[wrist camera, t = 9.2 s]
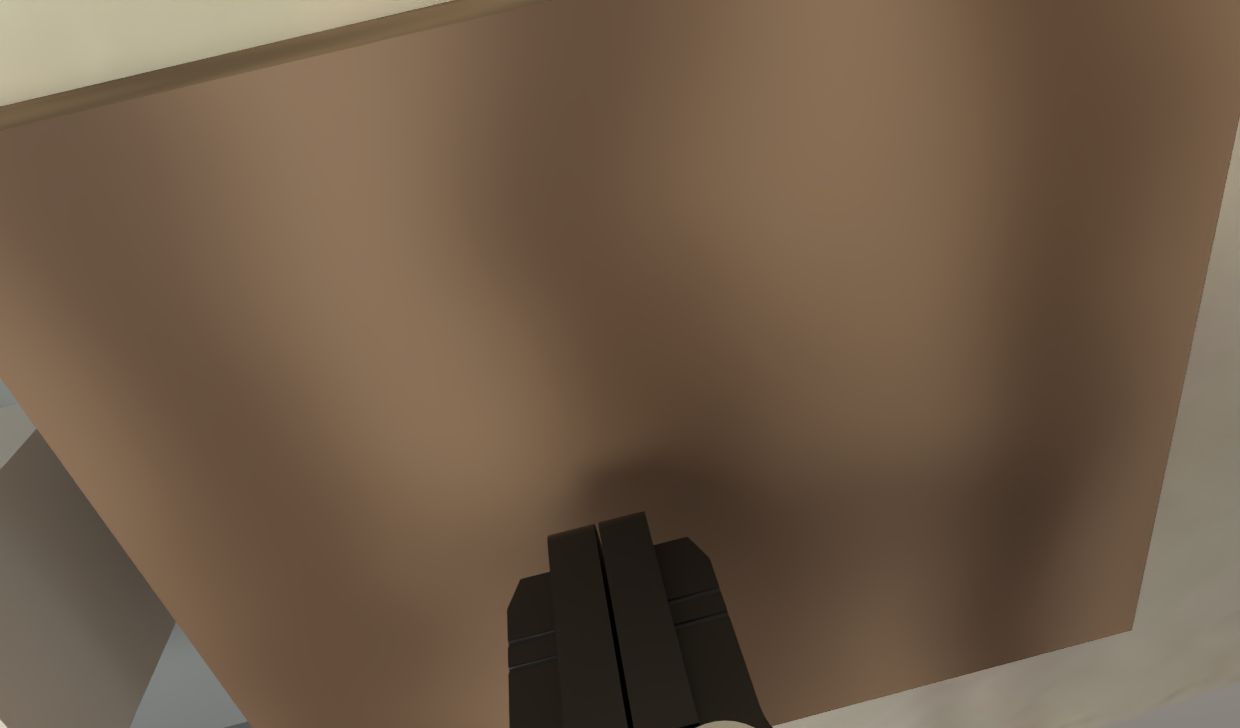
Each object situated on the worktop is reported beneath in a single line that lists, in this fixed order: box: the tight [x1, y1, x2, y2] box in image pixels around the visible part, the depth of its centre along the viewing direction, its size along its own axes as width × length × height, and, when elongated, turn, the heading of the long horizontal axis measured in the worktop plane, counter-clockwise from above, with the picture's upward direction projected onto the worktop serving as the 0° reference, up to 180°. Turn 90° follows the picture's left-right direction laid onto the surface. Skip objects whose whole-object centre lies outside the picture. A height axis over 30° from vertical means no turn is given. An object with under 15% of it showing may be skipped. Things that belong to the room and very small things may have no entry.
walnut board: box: [0, 0, 1240, 728], centre depth 15 cm, size 18×15×4 cm
